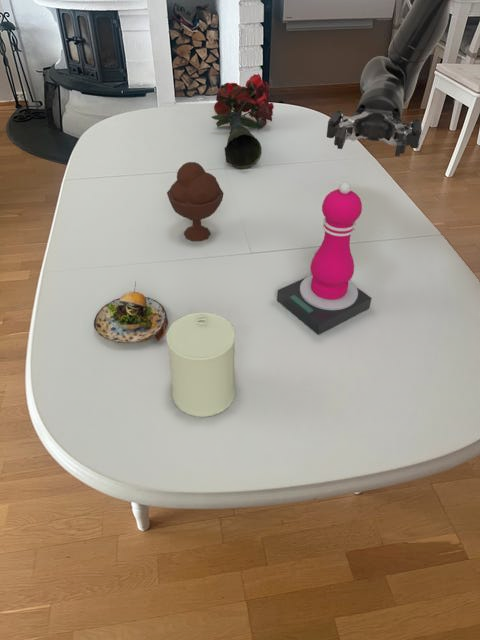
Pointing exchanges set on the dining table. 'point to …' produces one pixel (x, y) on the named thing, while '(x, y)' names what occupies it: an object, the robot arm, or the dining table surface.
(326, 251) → the pepper mill
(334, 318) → the kitchen scale
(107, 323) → the burger
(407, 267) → the dining table surface
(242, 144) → the red flower bouquet
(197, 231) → the ice cream bowl
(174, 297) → the dining table surface
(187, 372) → the can
